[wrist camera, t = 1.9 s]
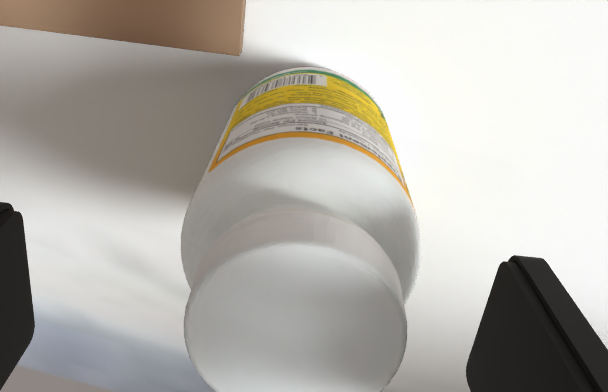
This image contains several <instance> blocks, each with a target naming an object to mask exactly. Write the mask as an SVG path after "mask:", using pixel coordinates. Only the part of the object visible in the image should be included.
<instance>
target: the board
mask: <svg viewBox="0 0 608 392" xmlns="http://www.w3.org/2000/svg"><path fill="white" fill-rule="evenodd" d="M245 5H246V0H0V25H1V26H9V27H17V28H25V29H33V30H40V31H48V32H56V33H64V34H72V35H79V36H87V37H95V38H103V39H110V40H118V41H126V42H134V43H142V44H149V45H157V46H165V47H173V48H181V49H188V50H196V51H204V52H212V53H220V54H227V55H235V56H239V55H240V53H241V52H242V46H243V32H244V19H245Z"/></svg>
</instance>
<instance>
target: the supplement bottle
mask: <svg viewBox="0 0 608 392" xmlns="http://www.w3.org/2000/svg"><path fill="white" fill-rule="evenodd" d="M181 256H182V263H183V268H184V272H185V275H186V279H187V282H188V284H189V286H190V288H191V293H190V296H189V299H188V302H187V305H186V310H185V318H184V337H185V343H186V347H187V350H188V353H189V356H190V359H191V360H192V362H193V364H194V366H195V368H196V369H197V371H198V373H199V374H200V375H201V376H202V378H203V379H204V380H205V381H206V382H207V384H208V385H210V386H211V387H212V388H213V389H214V390H215V391H216V392H380V391H382V390H383V389H384V387H385V386H386V385H387V384H388V383H389V382H390V380H391V379H392V377H393V376H394V375H395V373H396V371H397V370H398V368H399V366H400V364H401V361H402V358H403V355H404V352H405V348H406V341H407V321H406V315H405V309H404V304H405V303H406V301H407V299H408V298H409V296H410V294H411V292H412V290H413V287H414V285H415V282H416V279H417V275H418V271H419V267H420V260H421V236H420V230H419V225H418V221H417V216H416V213H415V209H414V206H413V203H412V200H411V197H410V194H409V191H408V188H407V185H406V182H405V179H404V176H403V172H402V169H401V166H400V163H399V160H398V156H397V153H396V150H395V147H394V144H393V141H392V138H391V135H390V132H389V129H388V125H387V123H386V120H385V117H384V115H383V113H382V111H381V109H380V107H379V105H378V104H377V102H376V101H375V99H374V98H373V97H372V96H371V95H370V93H369V92H367V91H366V90H365V89H364V88H363V87H362V86H361V85H359V84H358V83H356V82H355V81H353V80H352V79H350V78H348V77H347V76H345V75H343V74H340V73H338V72H335V71H331V70H327V69H323V68H315V67H299V68H291V69H286V70H283V71H279V72H276V73H274V74H272V75H270V76H267V77H265V78H264V79H262V80H260V81H259V82H258V83H256V84H255V85H254V86H252V87H251V88H250V89H249V90H248V91H247V92H246V93H245V94H244V95H243V96H242V97H241V99H240V100H239V102H238V103H237V104H236V106H235V108H234V109H233V111H232V113H231V115H230V118H229V120H228V122H227V124H226V126H225V128H224V131H223V133H222V135H221V137H220V139H219V142H218V144H217V146H216V148H215V151H214V153H213V155H212V157H211V159H210V161H209V164H208V166H207V168H206V170H205V172H204V174H203V176H202V178H201V180H200V183H199V185H198V187H197V189H196V191H195V193H194V195H193V197H192V199H191V201H190V204H189V206H188V209H187V212H186V215H185V218H184V222H183V227H182V234H181Z"/></svg>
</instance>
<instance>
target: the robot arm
mask: <svg viewBox="0 0 608 392" xmlns="http://www.w3.org/2000/svg"><path fill="white" fill-rule="evenodd" d="M34 327H35V322H34V313H33V304H32V295H31V286H30V278H29V269H28V260H27V251H26V242H25V233H24V225H23V218H22V215H21V213H20V212H17V211H14V209H13V207H12V205H11V204H9V203H3V202H0V390H1V388H2V387H3V385H4V384H5V382H6V380H7V379H8V377H9V376H10V374H11V372H12V371H13V369H14V368H15V366H16V364H17V363H18V361H19V360H20V358H21V356H22V355H23V353H24V352H25V350H26V349H27V347H28V345H29V344H30V342H31V340H32V337H33V333H34ZM466 377H467V382H468V385H469V388H470V391H471V392H608V350H607V348H606V347H605V345H604V344H603V343H602V341H601V340H600V338H599V337H598V335H597V334H596V333H595V331H594V330H593V328H592V327H591V325H590V324H589V322H588V321H587V320H586V318H585V317H584V315H583V314H582V312H581V311H580V310H579V308H578V307H577V305H576V304H575V302H574V301H573V299H572V298H571V297H570V295H569V294H568V292H567V291H566V289H565V288H564V287H563V285H562V284H561V282H560V281H559V279H558V278H557V276H556V275H555V274H554V272H553V271H552V269H551V268H550V266H549V265H548V264H547V262H546V261H545V260H544V259H542V258H535V257H525V256H515V255H514V256H512V257H511V258H510V259H509V261H508V262H502V263H501V264H500V266H499V268H498V271H497V274H496V277H495V280H494V283H493V286H492V289H491V292H490V295H489V298H488V301H487V304H486V307H485V310H484V313H483V316H482V319H481V322H480V325H479V328H478V331H477V335H476V338H475V341H474V344H473V347H472V350H471V353H470V356H469V359H468V362H467V367H466Z"/></svg>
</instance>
